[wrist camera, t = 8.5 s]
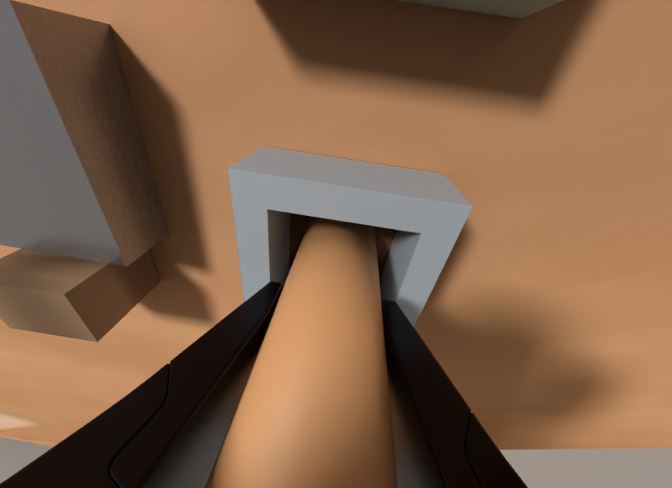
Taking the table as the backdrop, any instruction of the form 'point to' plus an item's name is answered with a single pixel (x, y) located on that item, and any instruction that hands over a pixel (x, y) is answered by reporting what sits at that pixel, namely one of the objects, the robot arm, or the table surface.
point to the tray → (493, 6)
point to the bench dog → (70, 293)
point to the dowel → (318, 376)
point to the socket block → (345, 216)
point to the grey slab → (71, 142)
